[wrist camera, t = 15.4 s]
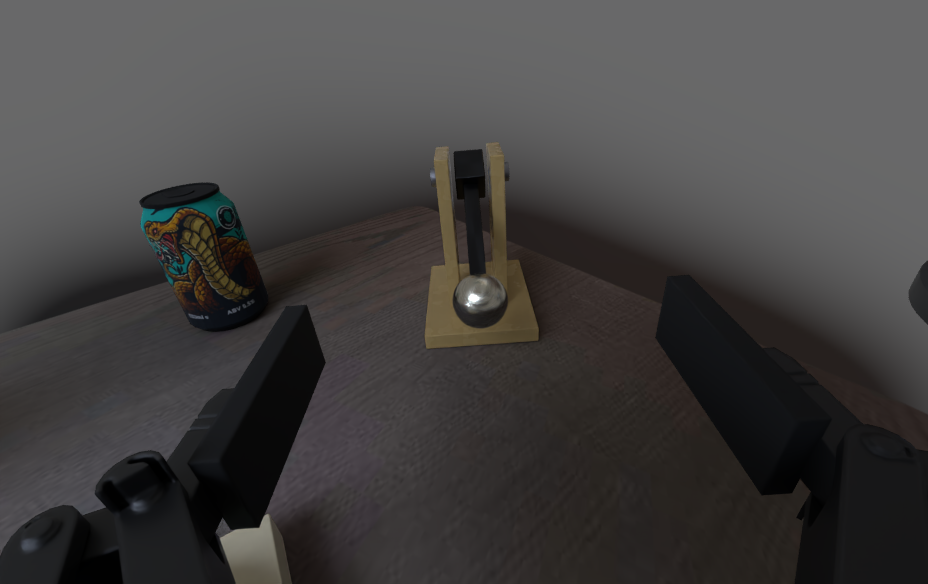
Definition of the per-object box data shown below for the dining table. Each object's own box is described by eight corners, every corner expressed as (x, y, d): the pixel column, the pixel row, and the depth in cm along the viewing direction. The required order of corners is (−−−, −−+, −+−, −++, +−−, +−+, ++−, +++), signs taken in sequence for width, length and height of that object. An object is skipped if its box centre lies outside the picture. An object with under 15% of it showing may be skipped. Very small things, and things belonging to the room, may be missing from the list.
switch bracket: (538, 341, 33) (542, 166, 26) (426, 349, 33) (399, 178, 26) (518, 270, 44) (517, 131, 36) (432, 276, 44) (415, 139, 37)
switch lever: (509, 335, 28) (512, 311, 25) (455, 339, 28) (451, 316, 25) (491, 176, 34) (491, 141, 31) (447, 179, 35) (443, 145, 31)
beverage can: (207, 345, 36) (142, 214, 30) (181, 317, 40) (119, 197, 34) (283, 309, 40) (240, 187, 34) (253, 287, 45) (209, 176, 38)
